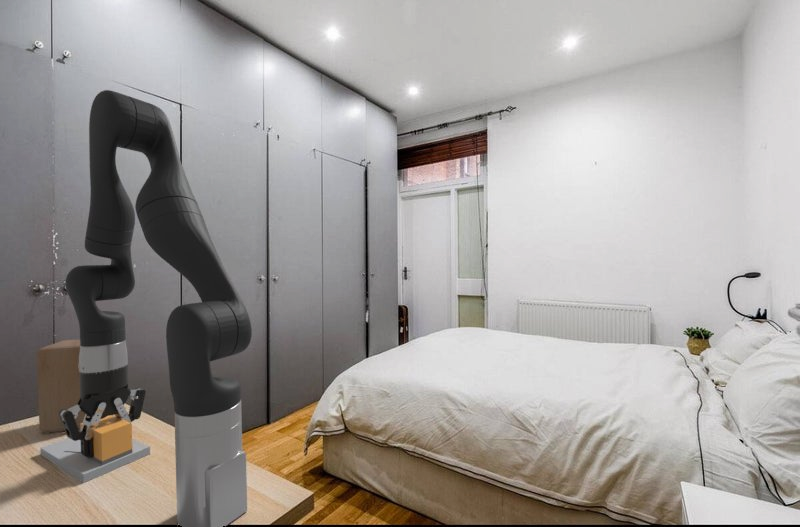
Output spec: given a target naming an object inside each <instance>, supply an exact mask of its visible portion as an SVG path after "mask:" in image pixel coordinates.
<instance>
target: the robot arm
mask: <svg viewBox="0 0 800 527" xmlns="http://www.w3.org/2000/svg"><path fill="white" fill-rule="evenodd" d="M90 108H91V109H90V113H89V122H88V123H89V124H88V136H89V137H88V138H89V139H88V142H89V143H88V146H89V154H88V155H89V159H88V160H89V181H90V182H89V183H90V184H89V185H90V186H89V188H90V196H89V197H90V198H89V199H90V200H89V212H88V218H87V225H86V230H85V237H84V238H85V239H84V249H85V250H86V252H87V253H89V254H91V255H93V256H94V257H95V256H96V257H100V258H105V259H110V264H99V265H98V264H95V265H92V264H91V265H89V264H88V265H77V266H75V267H74V268H72V269H71V270H70V271H68V273H67V274H66V278H65V283H64V284H65V289H66V292H67V295H68V297H69V300H70V302H71V304H72V306H73V308H74V311H75V314H76V317H77V320H78V325H79V339H80V353H79V364H78V368H79V379H80V399H79V401H78V403H77V405H75V406H73V407H71V408H69V409H67V410H66V409H62V410H60V411H59V416H60V419H61V421H62V424H63V427H64V429H65V431H64V432H65V433H66V434H65V435H66V436H67V438H70V439H72V440H74V441H77V440H80V441H81V454H82V455H83V456H85V457H87V458H92V457H94V443H93V438H92V436H93V430H94V429H95V428H96V427H97V426H98V424H99V421H100V419H103V418H105V417H107V416H110V415H113V416H116V418H120V419H121V420H126V421H128V422H130V423H133V422H134V421H136V420H139V419H140V418H141V414H142V410H143V405H144V401H145V397H146V392H147V391H146V389H143V388H140V387H136V388H135V389H130V387H129V360H128V359H129V358H128V357H129V356H128V347H127V342H126V341H127V340H126V318H125V315H124V314H123V313H121V312H119V311H109V310H108V311H106V310H101V309H100V308H99V306H97V303H96V302H99V301H110V300H111V301H112V300H118V299H119V300H120V299H125V298H127V297H128V296H130V294H131V293H132V292H133V291H134V288H135V286H136V278H135V274H134V268H133V261H132V251H131V250H132V248H131V247H132V242H133V235H134V231H135V224H136V216H137V219H138V222H139V225H140V228H141V230H142V234H143V236H144V238H145V241H146V243H147V244H148V246H150V248H151V249H152V250H153V252H154V253H155V254H157V255H158V257H160V258H161V259H162V260H163V261H164V262H166V263H167V264H168V265H169V266H171V267H172V268H173V269H175V271H177V272H178V273H180V274H181V275H182V276H183V277H184V278H185V279H186V280H187V281H188V282H189V283H190V284H191V285H192V287H193V288H194V290H195V292H197V294H198V296H199V298H200V300H201V302H193V303H192V302H191V303H185V304H181V305H178V306H176V307H175V308H174V309H172V310H171V312H170V315H169V316H168V319H167V322H166V329H165V330H166V331H165V334H166V335H165V339H166V351H167V352H166V353H167V362H168V372H169V374H168V375H169V385H170V392H171V396H172V400H173V405H174V406H173V410H174V444H175V445H174V446H175V448H174V450H175V488H176V489H175V490H176V493H175V494H176V516H177V517H176V519H177V520H176V522H178V524H179V525H180V526H182V527H223V526H225V527H226V526H228V525H229V524H231V523H233V521H235V520H236V519H237V518H239V517H240V516H242V515H244V513H246V512H247V511H248V486H247V485H248V483H247V482H248V480H247V479H248V478H247V475H248V474H247V473H248V472H247V452H246V451H245V450H243V431H242V430H243V428H242V426H243V425H242V424H243V422H242V420H243V419H242V416H243V415H242V388H241V383H240V382H239V381H238V380H236V379H235V378H231V377H226V376H225V377H224V376H213V374H212V368H211V362H213V361H217V360H221V359H223V358H224V359H225V358H227V357H231V356H235V355H238V354H240V353H242V352H244V351H245V350H247V349H248V348H249V345H250V343H251V340H252V335H253V334H252V329H253V328H252V323H251V318H250V317H249V313H248V310H247V307H246V306H245V304H244V302H243V300H242V299H241V296H240V295H239V292H238V291H237V289H236V287H235V286H234V283H233V282H232V280H231V277H230V276H229V274H228V272H227V271H226V269H225V267H224V265H223V262H222V260H221V259H220V256H219V253H218V251H217V250H216V249H217V248H216V247H215V244H214V242H213V240H212V237H211V234H210V232H209V230H208V227H207V224H206V221H205V219H204V216H203V214H202V211H201V209H200V207H199V204H198V202H197V200H196V198H195V195H194V193H193V191H192V188H191V186H190V183H189V181H188V178H187V176H186V172H185V170H184V166H183V164H182V162H181V159H180V154H179V151H178V147H177V144H176V138H175V135H174V131H173V129H172V126H171V123H170V120H169V118H168V116H167V115H166V113H165V112H164V110H163V109H161V108H160V107H159V106H157V105H155V104H152V103H150V102H147V101H144V100H141V99H138V98H135V97H131V96H129V95H127V94H123V93H121V92H117V91H114V90H109V89H105V90H102V91H100V92H98V94H96V95H95V97H94V99H93V101H92V104H91V107H90ZM117 148H122V149H124V150H130V151H133V152H138V153H142V154H143V155H144V156H145V157H146V159H147V160H148V162H149V166H150V173H149V174H148V177H147V179H146V180H145V182H144V183H143V185H142V187H141V189H140V190H139V193H138V194H137V197H136V200H135V206H134V205H133V203H132V201H131V199H130V197H129V195H128V193H127V191H126V189H125V187H124V185H123V183H122V180H121V178H120V175H119V172H118V170H117V169H118V168H117V163H116V162H117V161H116V159H117V158H116V156H117ZM134 207H135V209H134ZM129 398H130V399H131V400H130V405H129V410H127V409H126V407H125V405H126V402H127V400H128V399H129ZM80 410H81V411H82V412H84V413H85V417H84V420H83V426H82V429H81V431H80V429H78V427H77V424H76V421H75V419H76V418H77V416H78V412H79V411H80ZM178 524H177V525H178Z"/></svg>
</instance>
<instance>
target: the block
mask: <svg viewBox="0 0 800 527" xmlns="http://www.w3.org/2000/svg"><path fill="white" fill-rule="evenodd" d="M79 353H80V338H79V339H63V340H61V341H57V342H55V343H52V344H48V345H46V346H44V347H40V348H39V349H38V350H37V352H36V362H37V364H36V366H37V389H38V390H37V391H38V392H37V393H38V399H37V400H38V423H39V424H38V425H39V426H38V427H39V429H38V430H39V432H40V434H48V433H49V434H51V433H58V432H65V429H64V427H63V424H62V421H61V419H60V416H59V411H60V410H62V409H66V410H67V409H69V408H71V407H73V406H75V405H77V403H78V401H79V399H80V379H79V368H78V364H79ZM84 417H85V413H84V412H82V411H81V410H80V411H79V412H78V416H77V418H76V419H75V421H76V424H77V427H78V429H79V430H80V423H83V420H84ZM50 432H51V433H50Z"/></svg>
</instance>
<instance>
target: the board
mask: <svg viewBox="0 0 800 527" xmlns="http://www.w3.org/2000/svg"><path fill="white" fill-rule="evenodd" d="M39 451H40V456H42V457H43V458H45V459H46V460H47V461H50V462H51V463H53V464H54V465H56V466H58V468H60V469H61V470H63V471H65V472H66V473H68V474H70V475H71V476H73V477H74V478H76V479H77V480H79V481H80V482H81V483H84V484H85V483H87V482H89V481H92V480H94V479H96V478H98V477H100V476H103V475H105V474H107V473H109V472H112V471H114V470H116V469H119V468H121V467H123V466H126V465H129V464H130V463H133V462H135V461H137V460H139V459H141V458H144V457H146V456H149V455H150V454H151V446H150V445H148V444H145V443H143V442H141V441H139V440H136V439H134V438H132V453H131V454H128V455H126V456H124V457H121V458H119V459H117V460H114V461H112V462H109V463H107V464H105V465H101V464H99V463H97V462H95V461H94V460H92V459H90V458H87V457H85V456H83V455H82V454H81V441H80V440H77V441H74V440H72V439H70V438H68V437H67V438H64V439H61V440H58V441H56V442H53V443H50V444H47V445H44V446H41V447H40V449H39Z"/></svg>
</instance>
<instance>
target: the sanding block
mask: <svg viewBox="0 0 800 527" xmlns="http://www.w3.org/2000/svg"><path fill="white" fill-rule="evenodd" d="M132 423H133V422H131V423H130V422H128V421H126V420H121V419H120V418H116V416H115V415H110V416H107V417H105V418H103V419H100V421H99V424H98V426H97V427H96V428H95V429H94V430H93V436H92V438H93V443H94V457H92V458H90V459H92V460H94V461H95V462H97V463H99V464H101V465H105V464H107V463H109V462H112V461H114V460H117V459H119V458H121V457H124V456H126V455H128V454H131V453H132V439H133V427H132V426H133V424H132ZM82 426H83V423H80V429H79V431H81V429H82Z"/></svg>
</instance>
